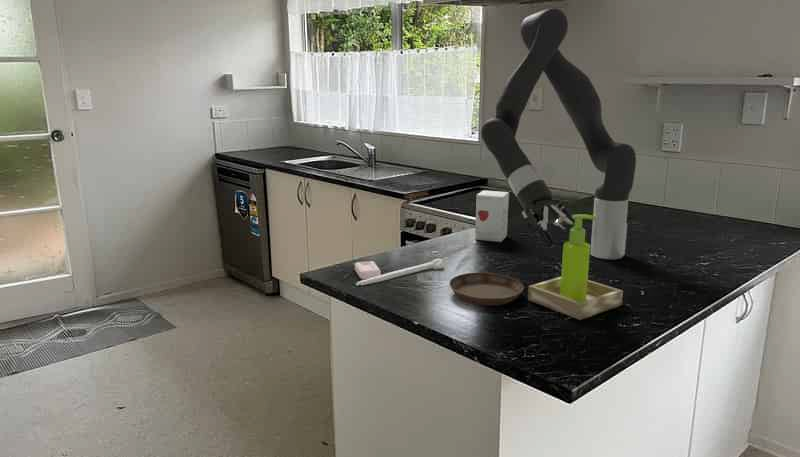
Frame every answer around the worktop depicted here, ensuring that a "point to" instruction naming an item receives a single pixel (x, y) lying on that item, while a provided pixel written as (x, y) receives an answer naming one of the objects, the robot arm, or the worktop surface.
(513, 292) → the plant saucer
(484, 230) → the supplement box
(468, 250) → the worktop surface
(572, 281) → the soap dispenser
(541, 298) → the birch crate
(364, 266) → the soap bar
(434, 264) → the white ball-headed stick
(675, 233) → the worktop surface
